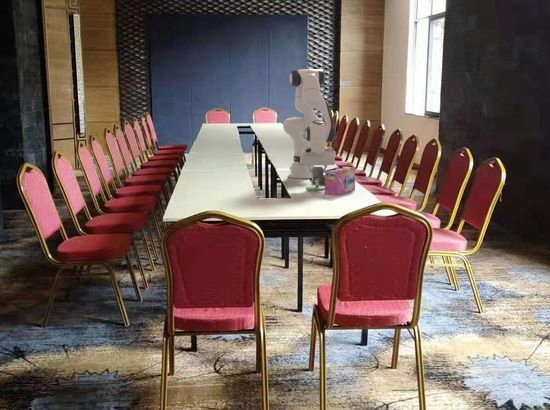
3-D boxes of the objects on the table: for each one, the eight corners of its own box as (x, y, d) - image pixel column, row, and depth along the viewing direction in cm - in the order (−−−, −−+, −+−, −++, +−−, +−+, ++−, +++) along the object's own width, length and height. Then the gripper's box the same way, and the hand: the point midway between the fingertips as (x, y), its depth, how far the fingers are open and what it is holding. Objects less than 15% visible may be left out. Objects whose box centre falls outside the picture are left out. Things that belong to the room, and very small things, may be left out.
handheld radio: (326, 187, 355) (307, 181, 378) (331, 187, 357) (312, 181, 379) (327, 176, 354) (308, 171, 376) (332, 176, 355) (312, 171, 378)
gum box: (344, 188, 354) (344, 165, 351) (356, 189, 350) (357, 166, 347) (324, 194, 335) (324, 170, 332) (336, 195, 330) (337, 171, 328)
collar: (311, 175, 352) (311, 166, 351) (321, 175, 352) (321, 166, 351) (312, 176, 346) (313, 168, 345) (323, 176, 346) (323, 168, 345)
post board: (306, 188, 352) (306, 177, 351) (333, 188, 353) (333, 177, 352) (308, 190, 344) (308, 180, 343) (335, 190, 346) (336, 179, 344)
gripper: (334, 148, 350) (334, 171, 353) (299, 148, 348) (299, 172, 351) (336, 149, 344) (335, 173, 346) (301, 149, 342) (300, 173, 345)
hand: (317, 172), depth 349 cm, fingers closed on collar, 6 cm apart
